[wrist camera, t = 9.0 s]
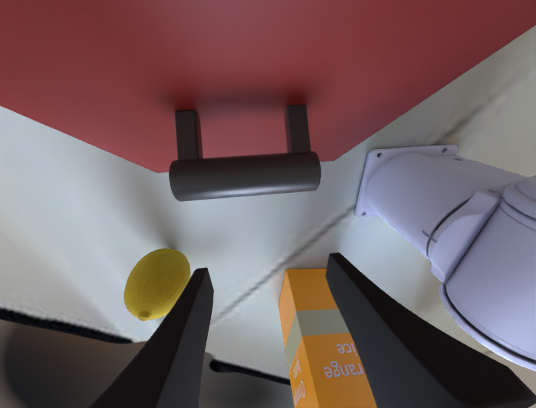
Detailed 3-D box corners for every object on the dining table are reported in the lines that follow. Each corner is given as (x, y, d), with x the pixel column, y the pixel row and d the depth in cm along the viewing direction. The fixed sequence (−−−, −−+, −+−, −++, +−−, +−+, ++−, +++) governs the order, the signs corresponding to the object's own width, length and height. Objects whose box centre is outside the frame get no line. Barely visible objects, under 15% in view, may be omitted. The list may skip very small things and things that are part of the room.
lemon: (139, 237, 21) (90, 305, 15) (189, 230, 22) (164, 294, 15) (158, 270, 24) (124, 341, 17) (202, 264, 25) (186, 331, 18)
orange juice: (337, 267, 28) (488, 552, 11) (322, 304, 32) (413, 548, 15) (284, 268, 27) (358, 588, 9) (276, 306, 31) (318, 573, 14)
